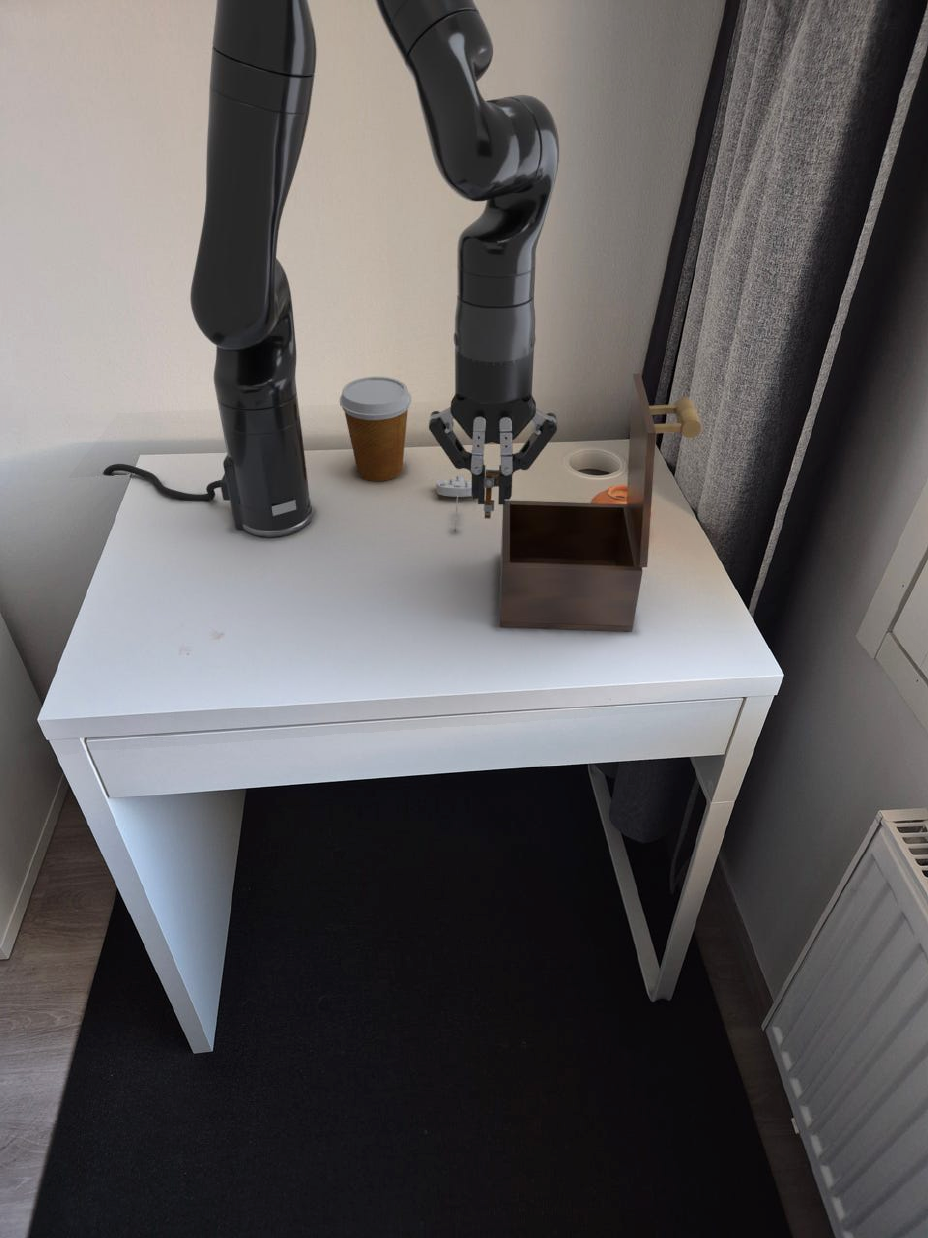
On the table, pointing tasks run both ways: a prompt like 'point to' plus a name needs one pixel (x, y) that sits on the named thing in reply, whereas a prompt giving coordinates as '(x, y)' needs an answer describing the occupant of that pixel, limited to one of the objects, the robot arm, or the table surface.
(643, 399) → the lid
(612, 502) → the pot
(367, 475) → the disposable coffee cup
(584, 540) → the chest
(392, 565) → the table surface
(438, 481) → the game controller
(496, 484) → the wooden post with brackets
